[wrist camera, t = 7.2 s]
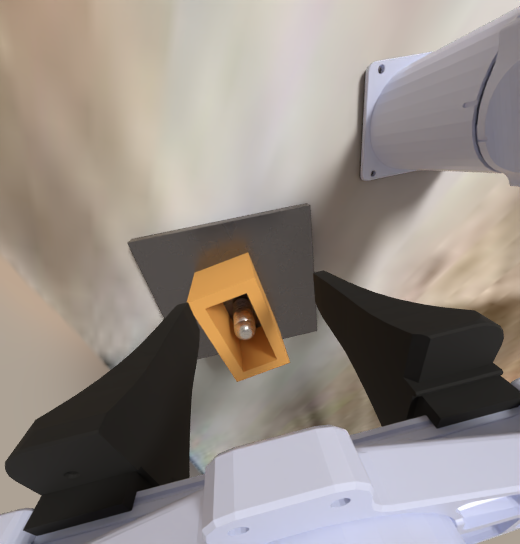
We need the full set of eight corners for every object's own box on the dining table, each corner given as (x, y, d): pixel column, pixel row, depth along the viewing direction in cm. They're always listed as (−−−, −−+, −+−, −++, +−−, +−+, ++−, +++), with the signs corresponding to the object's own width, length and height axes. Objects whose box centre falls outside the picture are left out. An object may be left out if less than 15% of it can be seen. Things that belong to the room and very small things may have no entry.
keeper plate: (306, 203, 20) (333, 216, 15) (314, 325, 27) (333, 361, 22) (131, 239, 19) (100, 265, 14) (187, 355, 26) (178, 399, 21)
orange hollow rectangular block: (248, 252, 20) (254, 277, 16) (278, 326, 25) (290, 362, 20) (194, 272, 20) (186, 303, 16) (234, 343, 25) (237, 381, 21)
